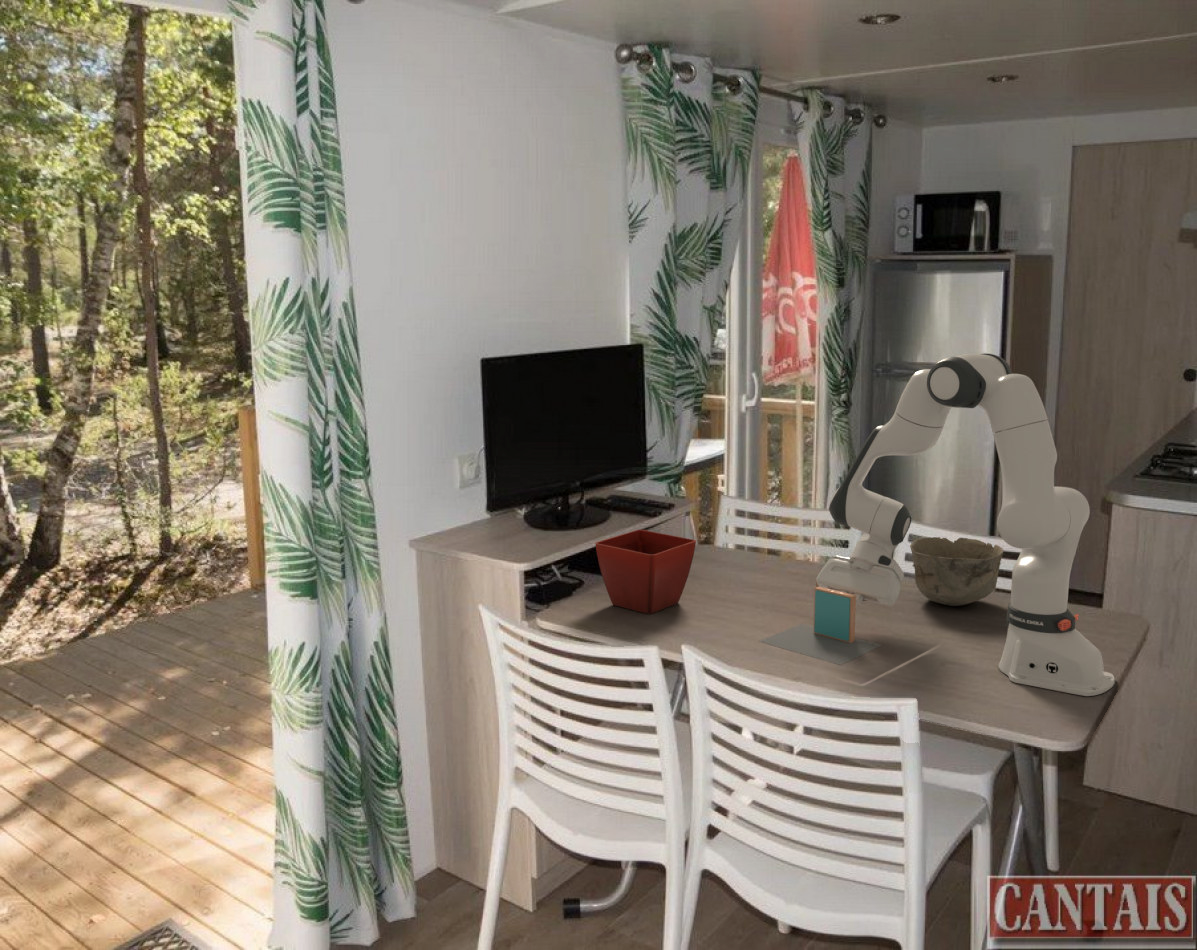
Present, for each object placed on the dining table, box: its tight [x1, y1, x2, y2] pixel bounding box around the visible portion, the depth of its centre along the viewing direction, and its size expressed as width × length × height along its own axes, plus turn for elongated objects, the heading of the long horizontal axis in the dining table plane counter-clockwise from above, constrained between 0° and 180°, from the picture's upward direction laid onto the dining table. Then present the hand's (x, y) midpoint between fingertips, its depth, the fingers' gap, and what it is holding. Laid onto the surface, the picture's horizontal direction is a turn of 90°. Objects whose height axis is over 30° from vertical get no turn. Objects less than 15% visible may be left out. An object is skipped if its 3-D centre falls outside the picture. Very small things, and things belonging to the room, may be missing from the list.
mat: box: [758, 623, 883, 666], centre depth 245 cm, size 22×17×1 cm
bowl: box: [909, 536, 1004, 607], centre depth 272 cm, size 22×22×15 cm
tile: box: [813, 587, 857, 643], centre depth 248 cm, size 10×2×11 cm, turn 45°
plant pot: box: [594, 529, 697, 615], centre depth 275 cm, size 19×19×17 cm
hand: (844, 610), depth 251 cm, fingers closed
